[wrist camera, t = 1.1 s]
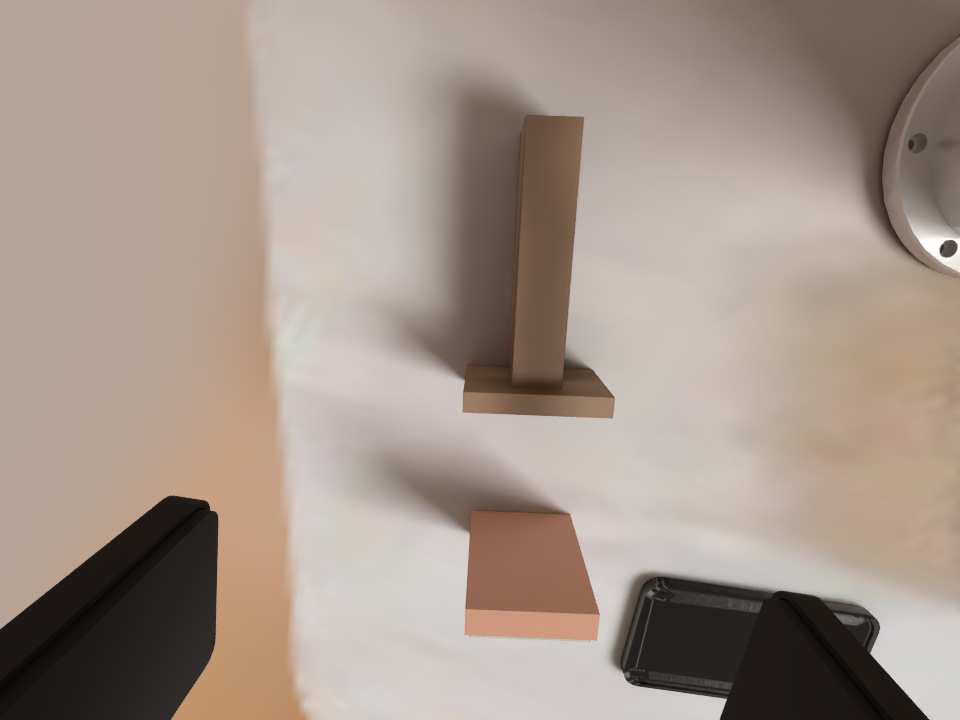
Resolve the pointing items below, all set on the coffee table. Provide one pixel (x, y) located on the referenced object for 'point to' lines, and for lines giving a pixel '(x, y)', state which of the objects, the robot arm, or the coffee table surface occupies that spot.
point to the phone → (705, 634)
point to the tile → (528, 579)
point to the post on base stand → (542, 288)
